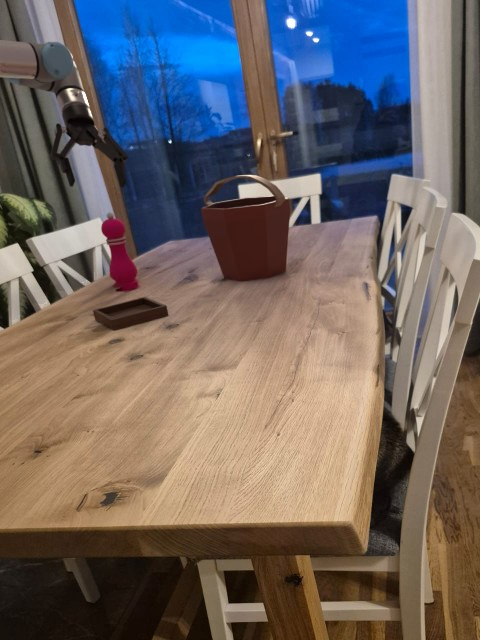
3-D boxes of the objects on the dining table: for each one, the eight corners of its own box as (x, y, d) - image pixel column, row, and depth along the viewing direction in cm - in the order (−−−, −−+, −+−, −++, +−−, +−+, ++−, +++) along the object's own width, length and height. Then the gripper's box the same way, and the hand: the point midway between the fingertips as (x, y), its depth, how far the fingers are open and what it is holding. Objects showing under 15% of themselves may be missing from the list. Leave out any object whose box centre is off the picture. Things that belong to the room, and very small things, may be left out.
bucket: (198, 277, 161) (181, 181, 151) (260, 259, 174) (248, 171, 163) (251, 287, 144) (235, 180, 133) (315, 267, 156) (306, 168, 146)
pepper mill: (133, 283, 162) (116, 209, 154) (145, 287, 157) (128, 210, 148) (109, 290, 158) (90, 214, 150) (120, 293, 153) (101, 215, 145)
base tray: (95, 319, 132) (92, 310, 131) (147, 306, 138) (144, 296, 137) (113, 330, 122) (111, 320, 121) (168, 315, 128) (166, 305, 127)
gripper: (28, 97, 144) (52, 174, 142) (125, 107, 159) (147, 177, 157) (24, 117, 150) (46, 191, 148) (117, 125, 165) (138, 192, 163)
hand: (98, 184), depth 152 cm, fingers open, 13 cm apart
